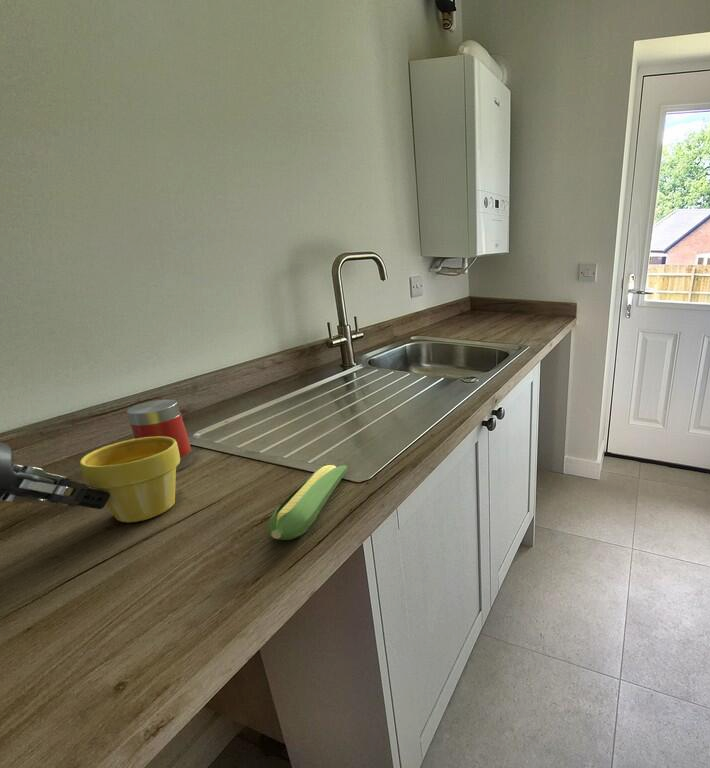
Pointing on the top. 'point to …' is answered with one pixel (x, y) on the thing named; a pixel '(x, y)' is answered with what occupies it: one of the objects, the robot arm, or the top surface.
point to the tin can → (161, 425)
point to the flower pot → (135, 476)
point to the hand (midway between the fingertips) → (102, 500)
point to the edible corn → (305, 503)
